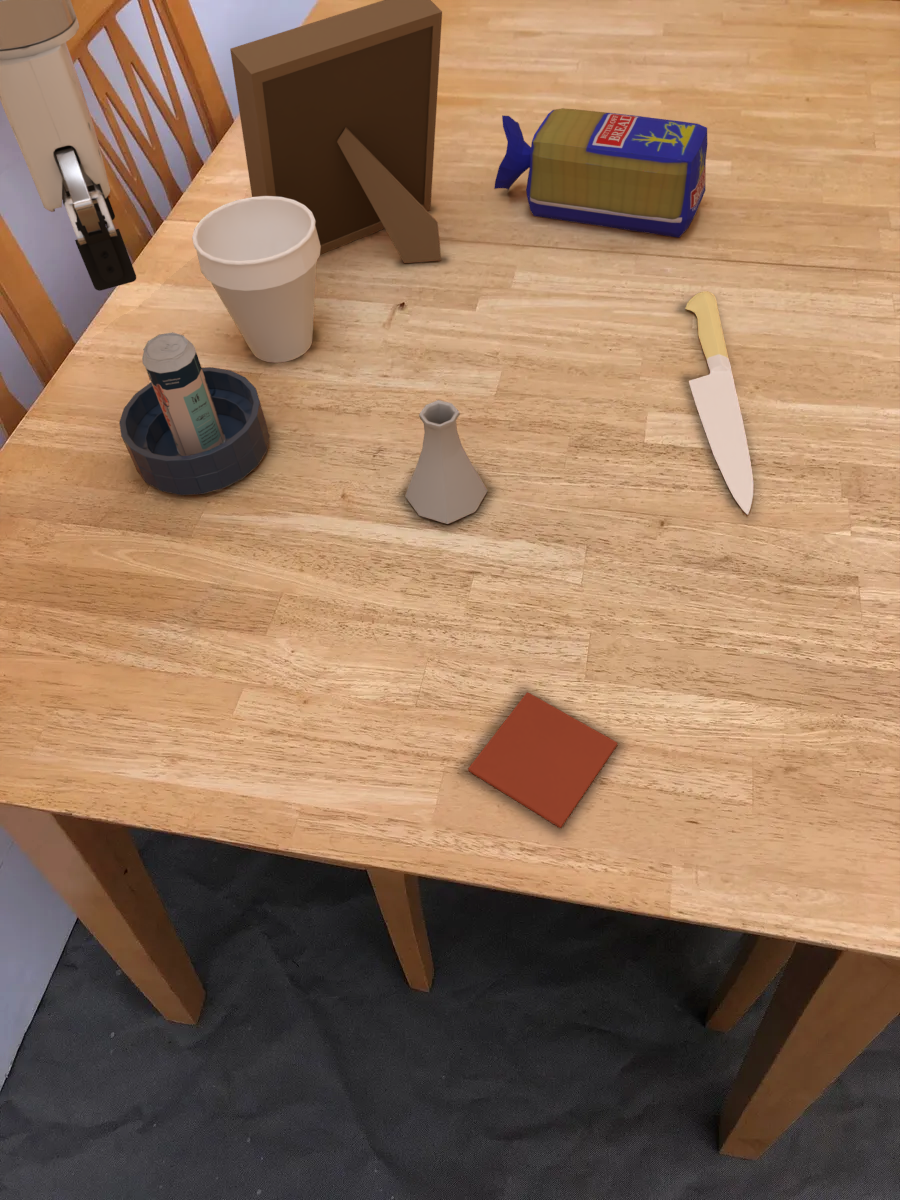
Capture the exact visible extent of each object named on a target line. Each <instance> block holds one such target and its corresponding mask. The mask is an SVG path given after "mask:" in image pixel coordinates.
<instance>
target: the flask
mask: <svg viewBox="0 0 900 1200" xmlns="http://www.w3.org/2000/svg"><path fill="white" fill-rule="evenodd" d="M459 417H460V411H459V410H458V408H457V407H456V406H455V405H454V404H453V403H452V402H450V401H449V402H448V401H444V400H441V399H436V400H435V401H432V402H430V403H427V404H425V405H424V406H423V408H422V410H420V412H419V414H418V418H419V419H420V420H421V422H422V423H423V430H424V433H423V439H422V440H423V441H422V448H421V450H420V454H419V456H418V460H417V462H416V466H415V469H414V472H413V474H412V477H411V479H410V481H409V484H408V486H407V489H406V492H405V495H404V497H405V499H406V500H407V501H408V503H409V504H410V505H411V507H412V508H413V510H414V511H415V512H416V514H417V515H418V516H419V517H423V518H426V519H430V520H433V521H437V522H440V523H442V524H447V525H449V524H452V523H454V522H456V521H459V520H460V519H462V518H464V517H467V516H469V515H471V514H474V513H475V512H476V511H477V510H478V508H479V506H480V504H481V503H482V501H483V499H484V498H485V496H486V494H487V493H488V492H489V491H488V489H487V487H486V485H485V483H484V482H483V480H482V478H481V477H480V475H479V473H478V472H477V470H476V468H475V466H474V465H473V463H472V461H471V459H470V457H469V455H468V454H467V452H466V450H465V449H464V447H463V445H462V441H461V438H460V435H459V432H458V426H457V420H458V418H459Z"/></svg>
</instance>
